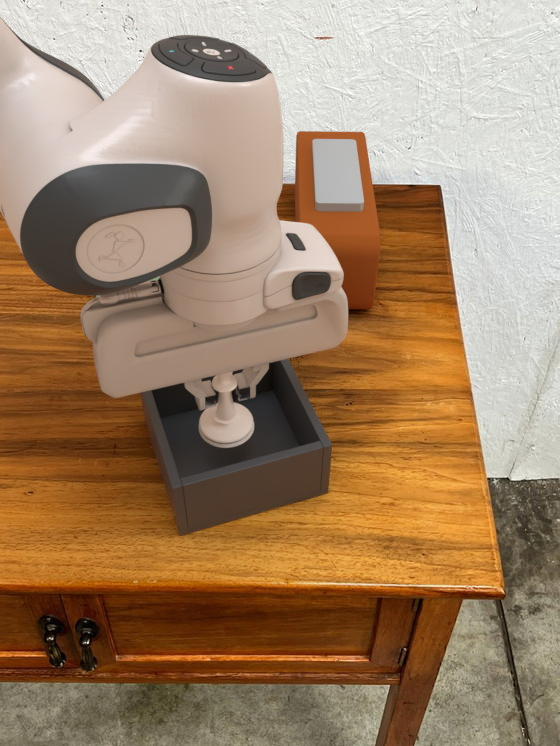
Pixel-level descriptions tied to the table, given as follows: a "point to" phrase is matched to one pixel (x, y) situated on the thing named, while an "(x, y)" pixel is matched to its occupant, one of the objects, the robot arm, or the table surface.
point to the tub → (239, 452)
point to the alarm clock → (341, 206)
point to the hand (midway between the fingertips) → (225, 398)
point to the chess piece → (226, 416)
